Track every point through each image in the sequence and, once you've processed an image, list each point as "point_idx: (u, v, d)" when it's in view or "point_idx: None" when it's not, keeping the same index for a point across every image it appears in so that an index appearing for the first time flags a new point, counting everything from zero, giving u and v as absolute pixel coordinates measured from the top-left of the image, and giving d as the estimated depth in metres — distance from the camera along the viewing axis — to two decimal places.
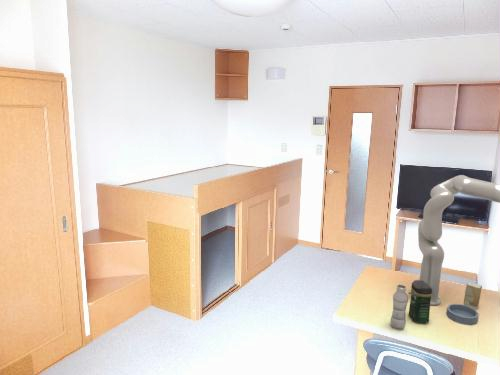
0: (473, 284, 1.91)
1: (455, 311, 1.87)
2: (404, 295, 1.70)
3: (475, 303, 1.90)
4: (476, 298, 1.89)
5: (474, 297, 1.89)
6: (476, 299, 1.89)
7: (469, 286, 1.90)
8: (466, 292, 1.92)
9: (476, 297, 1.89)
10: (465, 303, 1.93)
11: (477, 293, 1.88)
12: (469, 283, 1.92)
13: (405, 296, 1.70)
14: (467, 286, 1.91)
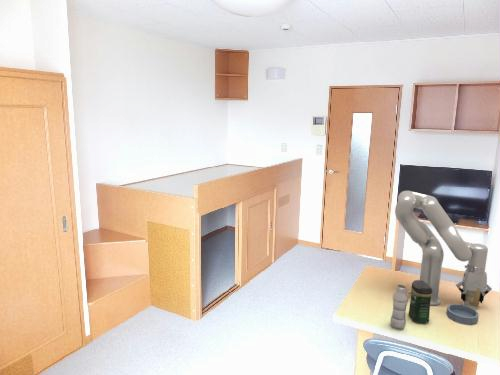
0: None
1: (455, 311, 1.87)
2: (404, 295, 1.70)
3: (475, 303, 1.90)
4: (476, 298, 1.89)
5: (474, 297, 1.89)
6: (476, 299, 1.89)
7: None
8: (466, 292, 1.92)
9: (477, 297, 1.89)
10: (465, 303, 1.93)
11: (477, 293, 1.88)
12: None
13: (405, 296, 1.70)
14: None
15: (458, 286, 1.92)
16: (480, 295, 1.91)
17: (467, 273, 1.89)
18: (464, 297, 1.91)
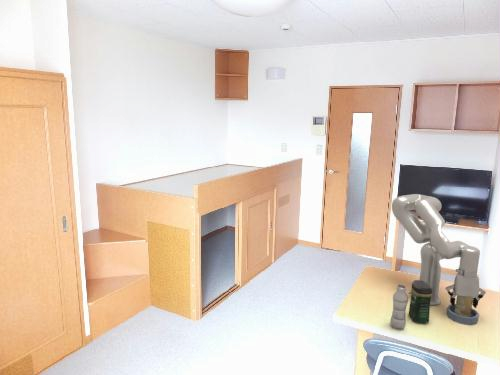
0: None
1: None
2: (404, 295, 1.70)
3: (467, 312, 1.79)
4: (468, 306, 1.79)
5: (466, 306, 1.79)
6: (468, 307, 1.79)
7: None
8: (457, 300, 1.82)
9: (468, 305, 1.79)
10: (456, 311, 1.83)
11: (469, 301, 1.78)
12: None
13: (405, 296, 1.70)
14: None
15: (448, 289, 1.81)
16: (474, 299, 1.80)
17: (458, 277, 1.78)
18: (453, 301, 1.81)
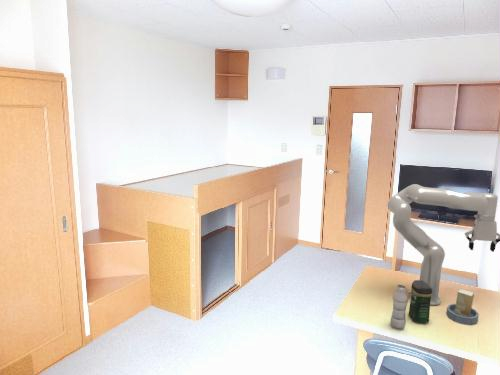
0: (465, 291, 1.81)
1: None
2: (404, 295, 1.70)
3: (467, 312, 1.79)
4: (468, 306, 1.79)
5: (466, 306, 1.79)
6: (468, 307, 1.79)
7: (461, 293, 1.80)
8: (457, 300, 1.82)
9: (468, 305, 1.79)
10: (456, 311, 1.83)
11: (469, 301, 1.78)
12: (460, 290, 1.82)
13: (405, 296, 1.70)
14: (458, 294, 1.81)
15: (467, 234, 1.93)
16: (492, 244, 1.92)
17: (477, 222, 1.90)
18: (472, 246, 1.92)
